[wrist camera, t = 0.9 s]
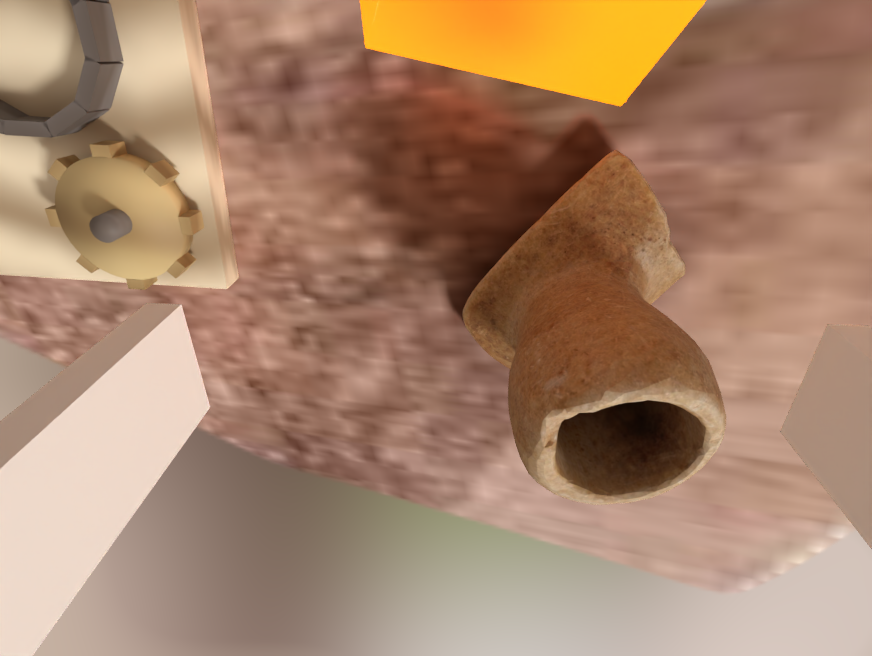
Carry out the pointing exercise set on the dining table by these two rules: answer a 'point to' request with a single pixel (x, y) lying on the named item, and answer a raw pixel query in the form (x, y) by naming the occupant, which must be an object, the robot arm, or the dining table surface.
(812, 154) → the dining table surface
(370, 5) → the orange juice
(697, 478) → the dining table surface
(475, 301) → the brown hollow flared piece
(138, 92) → the gear board
